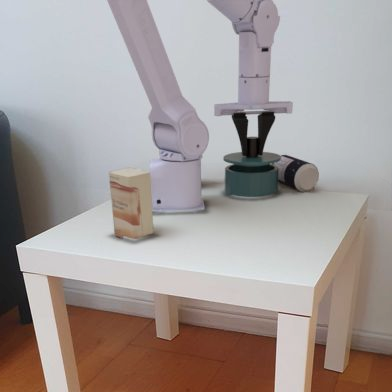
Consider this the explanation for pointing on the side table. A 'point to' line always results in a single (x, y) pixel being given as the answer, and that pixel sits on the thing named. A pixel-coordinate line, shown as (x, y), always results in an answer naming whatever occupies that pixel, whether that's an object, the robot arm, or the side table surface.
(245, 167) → the tin
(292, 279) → the side table surface
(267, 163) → the cover
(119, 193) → the printed cardboard carton
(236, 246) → the side table surface
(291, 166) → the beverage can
